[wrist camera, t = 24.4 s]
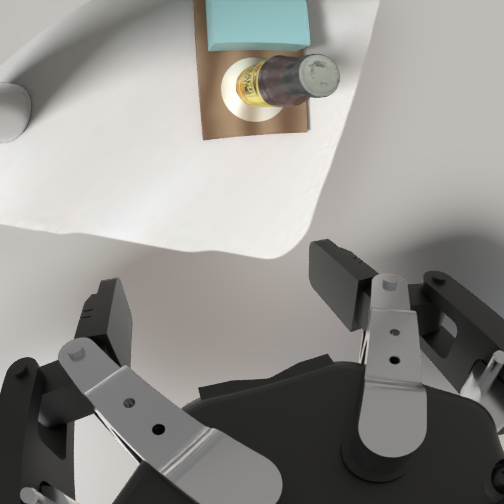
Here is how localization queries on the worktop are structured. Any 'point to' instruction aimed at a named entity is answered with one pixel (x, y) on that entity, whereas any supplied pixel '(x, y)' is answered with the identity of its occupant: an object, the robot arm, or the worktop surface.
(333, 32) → the worktop surface
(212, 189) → the worktop surface
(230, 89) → the walnut board
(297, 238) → the worktop surface
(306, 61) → the sauce bottle
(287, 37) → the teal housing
